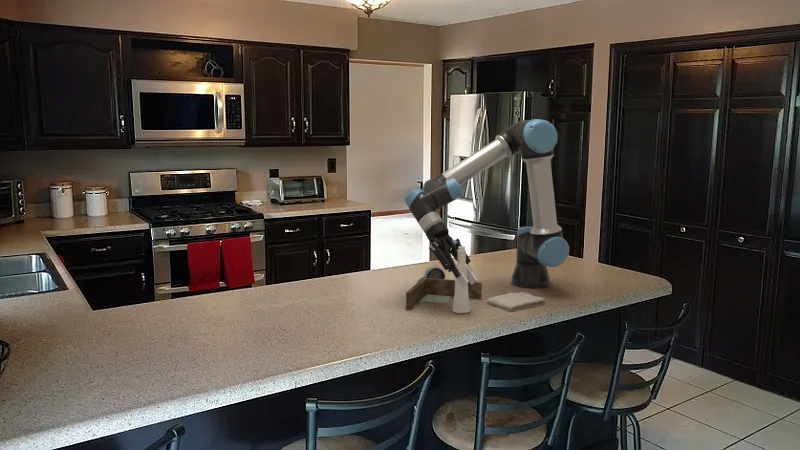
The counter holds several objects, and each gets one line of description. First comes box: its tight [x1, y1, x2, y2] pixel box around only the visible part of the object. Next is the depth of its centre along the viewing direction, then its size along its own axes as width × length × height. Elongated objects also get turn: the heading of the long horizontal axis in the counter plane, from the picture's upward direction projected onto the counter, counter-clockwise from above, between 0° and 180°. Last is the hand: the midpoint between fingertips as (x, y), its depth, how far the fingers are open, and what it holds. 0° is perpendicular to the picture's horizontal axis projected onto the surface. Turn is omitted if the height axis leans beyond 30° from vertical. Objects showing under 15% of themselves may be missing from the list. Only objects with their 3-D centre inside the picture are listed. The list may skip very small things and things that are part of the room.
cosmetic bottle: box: [451, 245, 471, 314], centre depth 204 cm, size 6×6×22 cm
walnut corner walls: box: [405, 277, 483, 311], centre depth 214 cm, size 22×22×6 cm
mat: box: [418, 294, 453, 305], centre depth 220 cm, size 10×10×1 cm
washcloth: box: [486, 291, 546, 313], centre depth 215 cm, size 12×18×3 cm, turn 126°
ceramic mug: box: [416, 265, 446, 284], centre depth 241 cm, size 11×8×8 cm
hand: (469, 283), depth 201 cm, fingers closed on cosmetic bottle, 4 cm apart
